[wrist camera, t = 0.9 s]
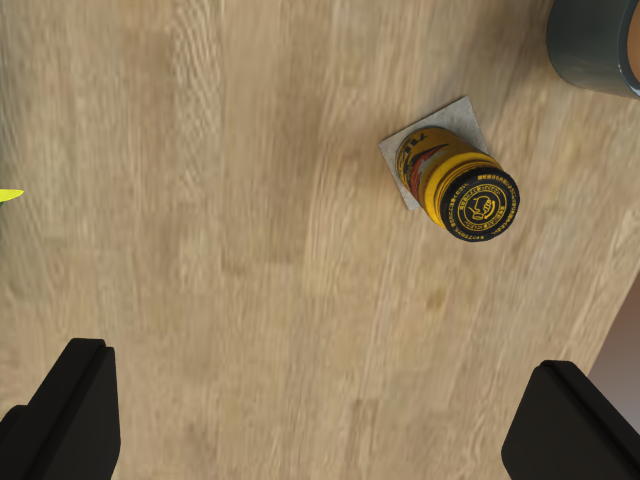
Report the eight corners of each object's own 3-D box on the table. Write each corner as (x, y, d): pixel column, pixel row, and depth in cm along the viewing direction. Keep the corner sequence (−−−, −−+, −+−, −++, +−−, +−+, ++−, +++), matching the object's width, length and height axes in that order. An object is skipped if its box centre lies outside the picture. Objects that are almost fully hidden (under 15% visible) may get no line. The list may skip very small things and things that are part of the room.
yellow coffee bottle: (377, 143, 39) (417, 190, 28) (466, 94, 38) (544, 123, 27) (409, 210, 42) (456, 275, 31) (492, 167, 41) (571, 219, 30)
